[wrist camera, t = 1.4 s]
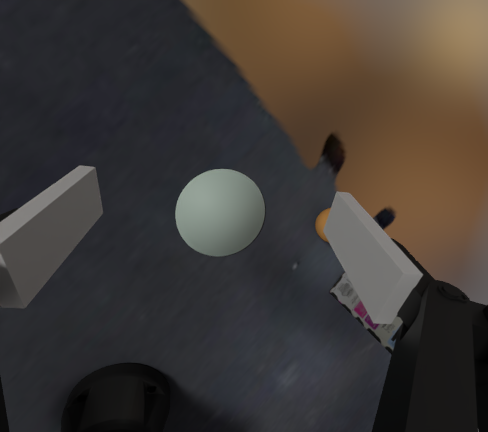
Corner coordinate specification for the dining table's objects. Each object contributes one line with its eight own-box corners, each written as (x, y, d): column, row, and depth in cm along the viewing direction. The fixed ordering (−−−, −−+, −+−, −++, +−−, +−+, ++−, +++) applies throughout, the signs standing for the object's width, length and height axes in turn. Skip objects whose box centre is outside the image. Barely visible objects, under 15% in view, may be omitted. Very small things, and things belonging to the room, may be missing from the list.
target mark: (257, 256, 41) (258, 256, 41) (172, 255, 37) (172, 255, 37) (270, 173, 38) (271, 174, 37) (178, 163, 34) (178, 163, 34)
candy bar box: (326, 293, 47) (401, 367, 32) (343, 270, 46) (427, 334, 31) (364, 314, 51) (447, 389, 36) (380, 294, 51) (470, 361, 35)
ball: (334, 236, 44) (356, 249, 39) (305, 235, 42) (324, 248, 37) (342, 204, 42) (365, 214, 37) (312, 202, 41) (332, 211, 36)
